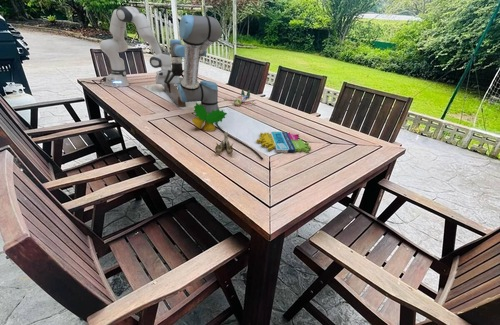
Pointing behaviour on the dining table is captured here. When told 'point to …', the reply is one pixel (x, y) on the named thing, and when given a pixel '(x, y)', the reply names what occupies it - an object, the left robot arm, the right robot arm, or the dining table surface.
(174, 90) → the post
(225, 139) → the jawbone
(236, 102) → the toy
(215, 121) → the ornament
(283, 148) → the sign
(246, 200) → the dining table surface
